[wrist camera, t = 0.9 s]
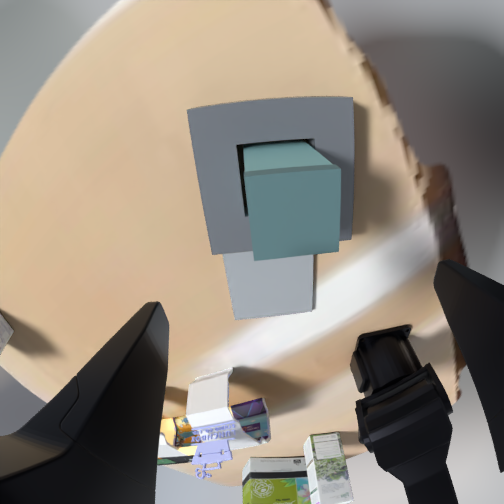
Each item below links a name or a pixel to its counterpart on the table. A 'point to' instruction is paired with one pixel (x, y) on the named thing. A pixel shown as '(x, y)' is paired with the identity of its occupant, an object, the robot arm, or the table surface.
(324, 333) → the table surface
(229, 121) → the socket
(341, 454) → the syrup box
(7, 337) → the medicine box
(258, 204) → the plug
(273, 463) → the tea box
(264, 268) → the pad
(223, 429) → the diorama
